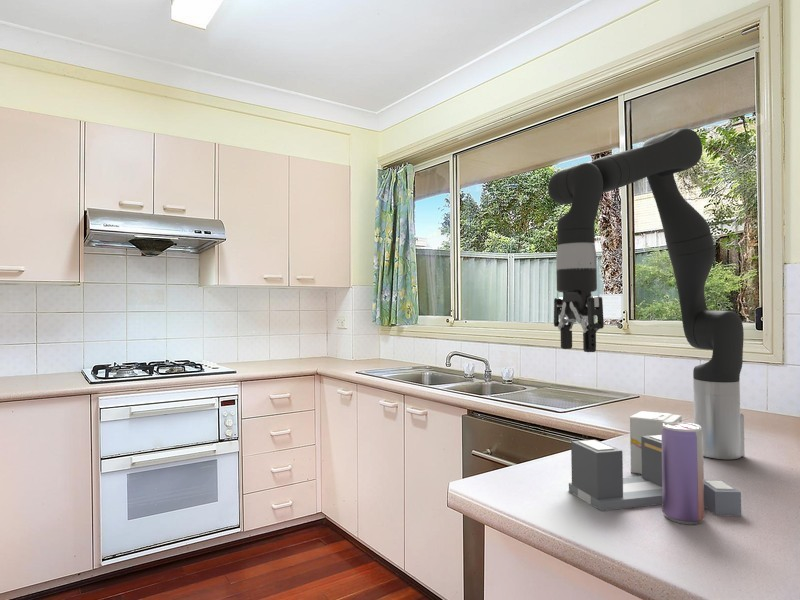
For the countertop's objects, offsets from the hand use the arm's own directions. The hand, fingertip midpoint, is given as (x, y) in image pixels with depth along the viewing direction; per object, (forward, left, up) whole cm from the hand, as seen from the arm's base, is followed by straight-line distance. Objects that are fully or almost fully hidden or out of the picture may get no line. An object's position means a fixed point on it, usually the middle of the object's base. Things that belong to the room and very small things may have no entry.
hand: (577, 350), depth 104 cm
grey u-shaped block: (-6, +9, -26) cm, 28 cm away
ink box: (-20, -2, -26) cm, 33 cm away
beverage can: (-7, +20, -26) cm, 33 cm away
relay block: (-16, +18, -26) cm, 35 cm away
